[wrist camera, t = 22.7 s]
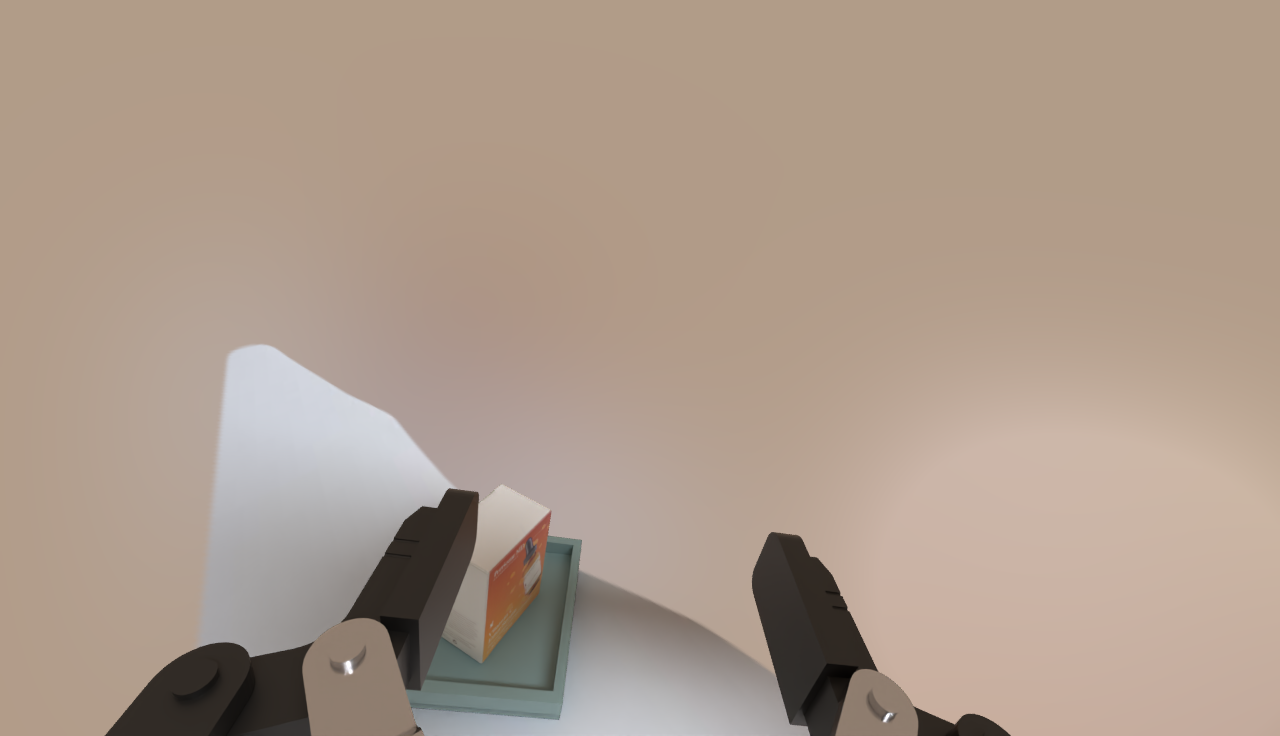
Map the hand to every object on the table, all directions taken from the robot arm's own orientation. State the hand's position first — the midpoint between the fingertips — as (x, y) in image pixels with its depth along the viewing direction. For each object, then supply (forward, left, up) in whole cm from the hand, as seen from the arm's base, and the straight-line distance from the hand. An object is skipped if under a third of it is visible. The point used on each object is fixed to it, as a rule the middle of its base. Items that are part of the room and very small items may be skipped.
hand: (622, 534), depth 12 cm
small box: (+7, -18, -30) cm, 35 cm away
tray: (+7, -18, -30) cm, 36 cm away
